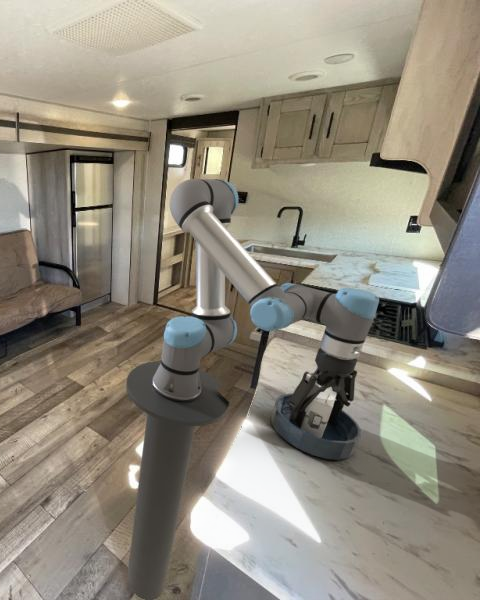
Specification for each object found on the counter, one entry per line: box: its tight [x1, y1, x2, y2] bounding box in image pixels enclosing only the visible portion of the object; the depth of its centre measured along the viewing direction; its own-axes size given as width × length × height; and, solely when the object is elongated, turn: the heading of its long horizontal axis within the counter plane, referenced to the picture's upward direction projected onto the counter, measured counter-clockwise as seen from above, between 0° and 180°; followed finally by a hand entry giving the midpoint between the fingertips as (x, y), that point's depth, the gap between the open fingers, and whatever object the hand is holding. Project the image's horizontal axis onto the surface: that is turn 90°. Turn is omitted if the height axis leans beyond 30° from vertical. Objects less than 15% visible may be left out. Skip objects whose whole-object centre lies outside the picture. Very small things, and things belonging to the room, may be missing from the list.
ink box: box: [301, 385, 337, 438], centre depth 83 cm, size 9×5×12 cm, turn 137°
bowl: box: [270, 392, 362, 461], centre depth 84 cm, size 18×18×6 cm
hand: (311, 425), depth 84 cm, fingers open, 11 cm apart
